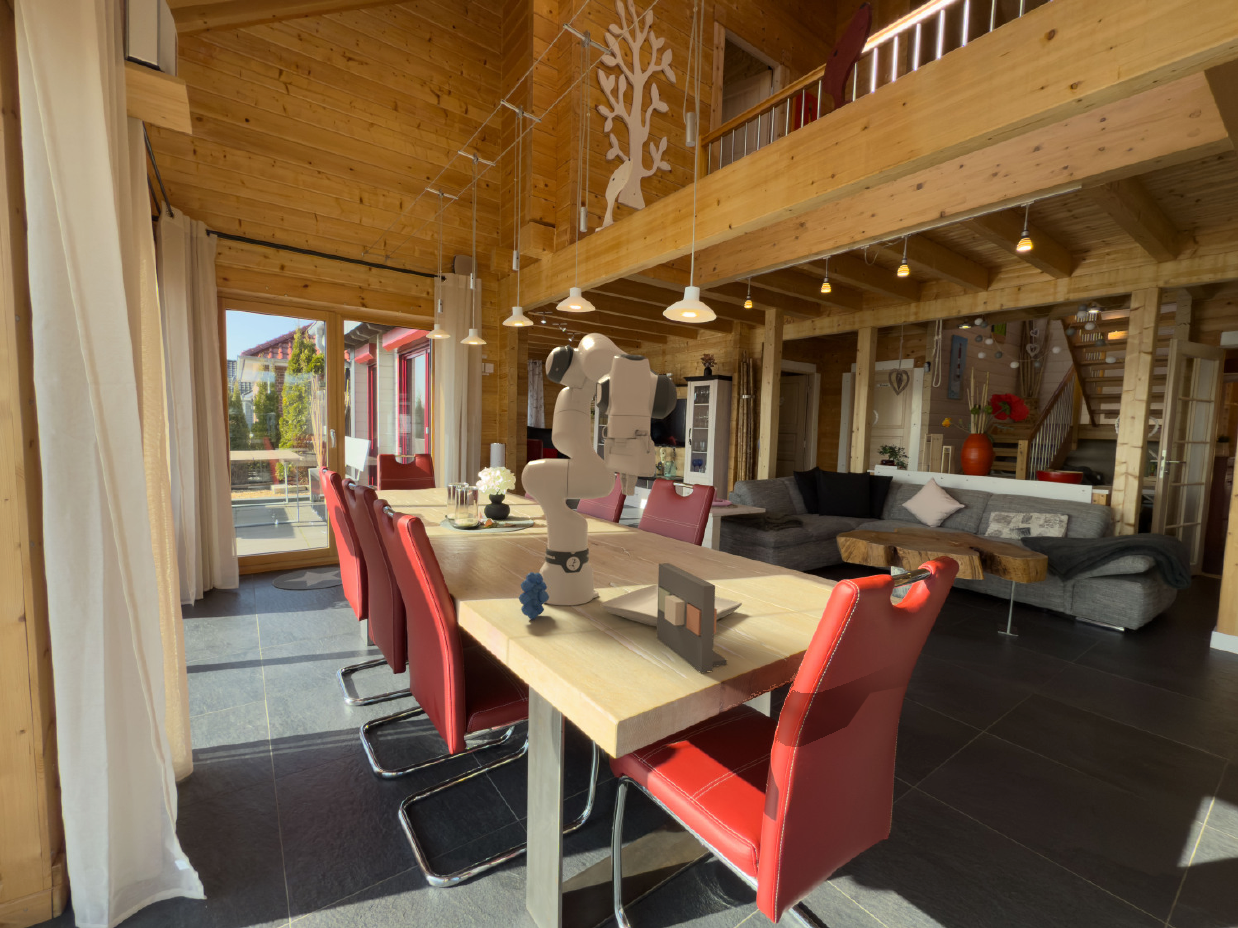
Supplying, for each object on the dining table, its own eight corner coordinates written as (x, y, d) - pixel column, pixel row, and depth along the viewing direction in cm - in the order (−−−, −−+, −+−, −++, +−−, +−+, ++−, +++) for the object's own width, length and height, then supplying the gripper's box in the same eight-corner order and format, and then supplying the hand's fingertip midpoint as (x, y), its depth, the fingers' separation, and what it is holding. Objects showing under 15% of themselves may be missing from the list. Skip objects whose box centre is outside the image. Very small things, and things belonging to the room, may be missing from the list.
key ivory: (664, 618, 118) (665, 595, 118) (681, 616, 119) (681, 594, 119) (674, 625, 113) (675, 602, 113) (692, 623, 115) (692, 600, 115)
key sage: (658, 608, 125) (658, 587, 124) (674, 606, 126) (674, 585, 126) (667, 614, 120) (668, 593, 120) (684, 613, 122) (684, 591, 121)
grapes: (537, 629, 130) (538, 578, 129) (512, 625, 132) (512, 575, 132) (559, 614, 141) (560, 567, 140) (535, 611, 143) (536, 565, 143)
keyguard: (656, 637, 126) (658, 563, 125) (684, 634, 129) (686, 561, 128) (701, 673, 107) (703, 586, 107) (732, 668, 110) (735, 583, 109)
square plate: (691, 643, 124) (692, 626, 124) (597, 617, 141) (597, 602, 140) (743, 614, 146) (743, 599, 146) (655, 594, 162) (656, 581, 162)
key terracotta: (686, 627, 112) (687, 604, 112) (703, 625, 114) (704, 602, 114) (698, 635, 108) (699, 611, 108) (716, 633, 109) (716, 609, 109)
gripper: (664, 430, 110) (662, 500, 110) (625, 430, 129) (623, 490, 129) (635, 429, 107) (633, 500, 108) (599, 430, 126) (598, 490, 127)
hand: (627, 494), depth 119 cm, fingers closed
